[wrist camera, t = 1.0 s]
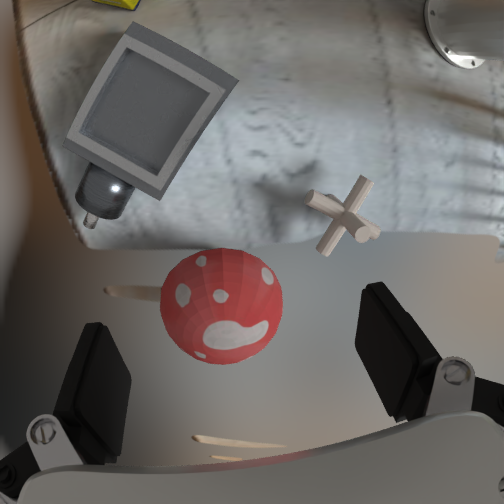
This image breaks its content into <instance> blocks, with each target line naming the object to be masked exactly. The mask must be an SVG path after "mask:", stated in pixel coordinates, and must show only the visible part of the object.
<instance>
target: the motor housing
mask: <svg viewBox="0 0 504 504" xmlns="http://www.w3.org/2000/svg"><path fill="white" fill-rule="evenodd" d="M238 82H239V80H238V79H236V78H234V77H233V76H231V75H230V74H228V73H226V72H225V71H223V70H222V69H220V68H218V67H217V66H215V65H213V64H212V63H210V62H208V61H207V60H205V59H203V58H202V57H200V56H198V55H196V54H195V53H193V52H191V51H189V50H188V49H186V48H184V47H182V46H180V45H179V44H177V43H175V42H173V41H171V40H169V39H167V38H165V37H164V36H162V35H160V34H158V33H156V32H154V31H152V30H150V29H148V28H146V27H144V26H142V25H140V24H138V23H135V22H132V23H131V25H130V26H129V28H128V29H127V30H126V32H125V33H124V34H123V36H122V37H121V39H120V40H119V42H118V43H117V45H116V46H115V48H114V50H113V51H112V53H111V54H110V56H109V57H108V59H107V61H106V62H105V64H104V66H103V67H102V69H101V71H100V72H99V74H98V76H97V78H96V79H95V81H94V83H93V85H92V86H91V88H90V90H89V92H88V94H87V96H86V97H85V99H84V101H83V103H82V105H81V107H80V109H79V111H78V113H77V115H76V117H75V119H74V121H73V123H72V125H71V127H70V129H69V132H68V134H67V136H66V139H65V141H64V143H63V145H62V146H63V147H65V148H67V149H69V150H70V151H72V152H74V153H76V154H78V155H79V156H81V157H83V158H85V159H86V160H88V161H90V163H89V165H88V167H87V169H86V171H85V173H84V176H83V178H82V180H81V182H80V185H79V187H78V189H77V192H76V194H75V198H76V201H77V202H78V204H79V205H80V206H81V207H82V208H83V209H84V210H86V211H87V214H86V217H85V219H84V221H83V224H84V226H85V227H87V228H89V229H94V228H95V226H96V224H97V222H98V220H99V217H100V218H103V219H110V220H112V219H117V218H119V217H120V216H121V214H122V212H123V210H124V208H125V206H126V204H127V203H128V201H129V199H130V197H131V195H132V193H133V191H134V189H135V187H136V188H138V189H140V190H141V191H143V192H145V193H147V194H148V195H150V196H152V197H154V198H155V199H157V200H159V201H160V200H161V198H162V197H163V195H164V193H165V192H166V190H167V188H168V187H169V185H170V183H171V182H172V180H173V178H174V177H175V175H176V173H177V172H178V170H179V169H180V167H181V165H182V164H183V162H184V161H185V159H186V157H187V156H188V154H189V153H190V151H191V150H192V148H193V147H194V145H195V143H196V142H197V140H198V139H199V137H200V136H201V134H202V133H203V131H204V130H205V128H206V127H207V125H208V124H209V122H210V121H211V120H212V118H213V117H214V115H215V114H216V112H217V111H218V109H219V108H220V107H221V105H222V104H223V102H224V101H225V99H226V98H227V97H228V95H229V94H230V93H231V91H232V90H233V88H234V87H235V86H236V84H237V83H238Z"/></svg>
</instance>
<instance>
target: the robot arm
mask: <svg viewBox="0 0 504 504" xmlns="http://www.w3.org/2000/svg"><path fill="white" fill-rule="evenodd" d="M424 15H425V23H426V27H427V30H428V34H429V36H430V38H431V40H432V42H433V44H434V45H435V47H436V49H437V50H438V51H439V53H440V54H441V55H442V56H443V57H444V58H445V59H446V60H447V61H448V62H450V63H451V64H452V65H454V66H457V67H459V68H463V69H474V68H477V67H479V66H480V65H481V64H482V63H483V62H484V60H499V61H504V0H427V1H426V3H425V9H424ZM355 347H356V350H357V352H358V354H359V356H360V358H361V360H362V362H363V364H364V366H365V368H366V370H367V372H368V374H369V376H370V378H371V380H372V382H373V384H374V386H375V388H376V391H377V393H378V395H379V397H380V399H381V401H382V403H383V405H384V407H385V409H386V411H387V413H388V415H389V416H390V417H391V416H393V417H394V419H395V421H396V423H397V422H400V421H403V420H406V419H407V421H408V422H405V423H402V424H399V425H396V426H393V427H390V428H387V429H384V430H381V431H377V432H374V433H371V434H367V435H364V436H360V437H357V438H354V439H350V440H346V441H343V442H339V443H335V444H331V445H327V446H322V447H318V448H313V449H309V450H304V451H299V452H294V453H289V454H283V455H278V456H272V457H265V458H259V459H252V460H244V461H236V462H227V463H217V464H203V465H187V466H110V465H104V464H105V463H116V460H117V456H120V454H121V449H122V441H123V434H124V426H125V418H126V413H127V406H128V399H129V393H130V388H131V375H130V373H129V370H128V369H127V367H126V365H125V363H124V361H123V359H122V357H121V355H120V353H119V351H118V348H117V346H116V344H115V342H114V340H113V338H112V336H111V334H110V331H109V329H108V327H107V326H103V324H102V323H100V322H96V323H87V324H86V325H85V327H84V329H83V332H82V334H81V336H80V339H79V342H78V344H77V347H76V350H75V352H74V355H73V358H72V360H71V362H70V364H69V367H68V370H67V372H66V375H65V378H64V381H63V384H62V387H61V390H60V393H59V396H58V399H57V402H56V406H55V409H54V412H53V415H48V414H46V415H41V416H38V417H36V418H35V419H34V420H33V421H32V422H31V423H30V425H29V427H28V429H27V440H28V441H27V442H26V443H25V444H23V445H22V446H20V447H19V448H17V449H16V450H15V451H13V452H12V453H10V454H9V455H7V456H6V457H5V458H3V459H2V460H0V504H504V385H502V384H499V383H496V382H492V381H489V380H485V379H482V378H479V377H475V371H474V369H473V367H472V365H471V364H470V363H469V362H468V361H466V360H465V359H463V358H460V357H454V356H452V357H447V358H445V359H442V358H441V356H440V355H439V353H438V352H437V351H436V349H435V348H434V346H433V345H432V344H431V342H430V341H429V340H428V338H427V337H426V335H425V334H424V333H423V331H422V330H421V328H420V327H419V326H418V324H417V323H416V322H415V321H414V319H413V318H412V316H411V315H410V314H409V313H408V312H406V311H405V310H404V309H403V307H402V306H401V305H400V303H399V302H398V301H397V299H396V298H395V297H394V295H393V294H392V293H391V292H390V290H389V289H388V288H387V287H386V285H385V284H384V283H383V282H376V283H371V284H368V285H367V286H366V289H363V290H362V294H361V302H360V310H359V318H358V325H357V331H356V338H355Z"/></svg>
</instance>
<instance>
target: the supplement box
mask: <svg viewBox="0 0 504 504" xmlns="http://www.w3.org/2000/svg"><path fill="white" fill-rule="evenodd" d="M92 1H93V2H96V3H103V4H107V5H111V6H116V7H120V8H124V9H128V10H132V11H135V10H136V8H137V6H138V5H139V3H140V1H141V0H92Z"/></svg>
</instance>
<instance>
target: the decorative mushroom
mask: <svg viewBox="0 0 504 504" xmlns="http://www.w3.org/2000/svg"><path fill="white" fill-rule="evenodd" d="M160 312H161V316H162V319H163V322H164V325H165V328H166V330H167V332H168V334H169V336H170V337H171V338H172V339H173V341H174V342H175V343H176V344H177V345H178V346H179V348H180V349H181V350H182V351H184V352H186V353H187V354H189V355H190V356H192V357H194V358H195V359H197V360H200V361H203V362H207V363H210V364H222V365H224V364H232V363H238V362H240V361H243V360H246V359H249V358H251V357H252V356H254V355H255V354H256V353H258V352H259V351H261V350H262V349H263V348H265V346H266V345H267V344H268V343H269V341H270V340H271V338H273V336H274V335H275V333H276V331H277V328H278V325H279V322H280V319H281V316H282V313H283V301H282V290H281V286H280V284H279V282H278V280H277V278H276V276H275V274H274V272H273V271H272V270H271V269H270V268H269V267H268V266H267V265H266V264H265V263H264V262H263V261H262V260H261V259H259V258H257V257H255V256H253V255H251V254H248V253H246V252H244V251H241V250H234V249H226V248H218V249H211V250H204V251H200V252H198V253H196V254H194V255H191V256H189V257H187V258H185V259H183V260H182V261H181V262H180V263H179V264H178V265H177V266H176V267H175V268H173V269H172V270H171V271H170V272H169V274H168V276H167V278H166V280H165V282H164V284H163V286H162V288H161V302H160Z"/></svg>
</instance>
